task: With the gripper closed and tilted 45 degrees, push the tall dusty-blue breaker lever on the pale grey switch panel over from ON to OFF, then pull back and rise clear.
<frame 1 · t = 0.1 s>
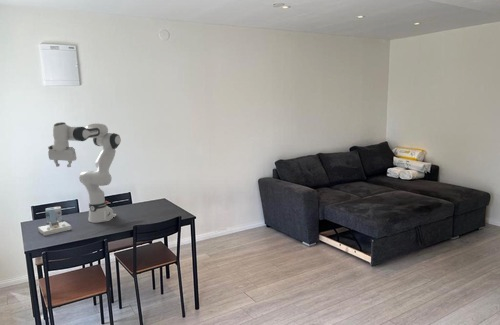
hand: (63, 166, 247), 48 cm above the table, tool pointing down, fingers open, 8 cm apart
switch panel: (55, 230, 261), on the table
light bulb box: (54, 221, 281), on the table
breaker lever: (53, 218, 262), point 8 cm above the table, hinge at -20.0°
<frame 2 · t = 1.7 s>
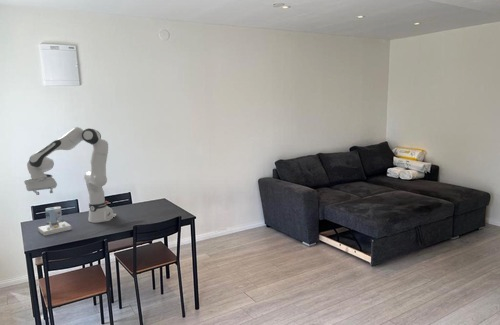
hand: (45, 193, 265), 25 cm above the table, tool tilted 45°, fingers open, 8 cm apart
nothing on the table moved.
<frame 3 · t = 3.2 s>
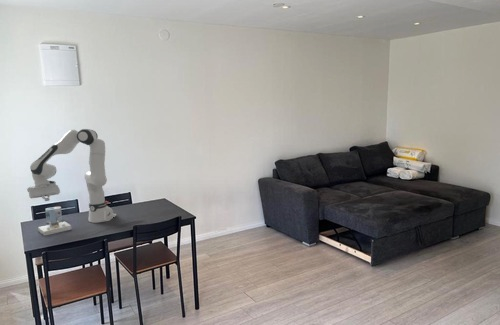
hand: (47, 200, 267), 20 cm above the table, tool tilted 45°, fingers closed
nothing on the table moved.
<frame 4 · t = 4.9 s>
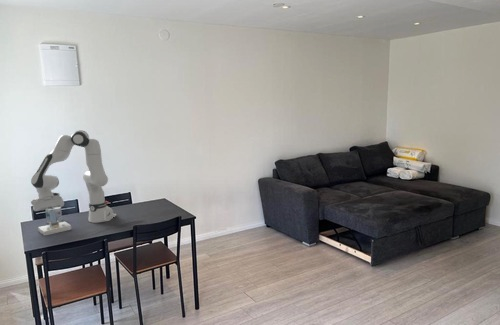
hand: (51, 213, 263), 12 cm above the table, tool tilted 45°, fingers closed, pressing on breaker lever
breaker lever: (53, 218, 262), point 8 cm above the table, hinge at -19.0°, touching gripper
everything else where it was.
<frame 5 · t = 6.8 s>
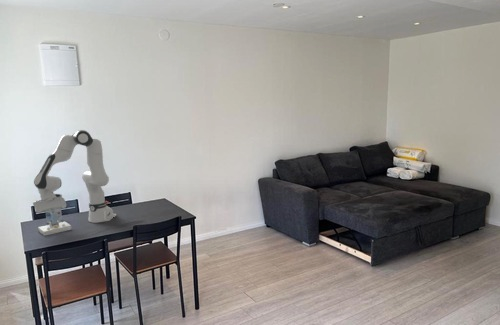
hand: (53, 214, 259), 12 cm above the table, tool tilted 45°, fingers closed, pressing on breaker lever
breaker lever: (54, 219, 260), point 8 cm above the table, hinge at 21.9°, touching gripper
everything else where it was.
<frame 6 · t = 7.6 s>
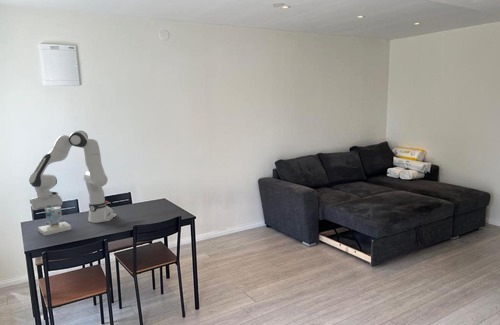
hand: (49, 211, 265), 12 cm above the table, tool tilted 45°, fingers closed
breaker lever: (54, 219, 260), point 8 cm above the table, hinge at 21.9°
everything else where it was.
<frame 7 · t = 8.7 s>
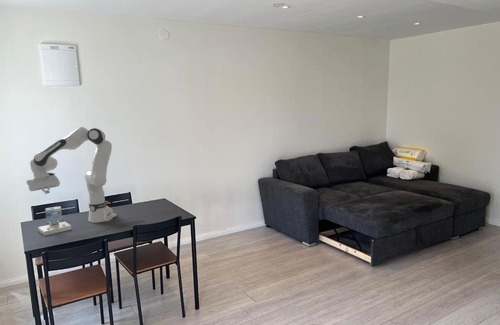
hand: (47, 193, 264), 26 cm above the table, tool tilted 40°, fingers closed
nothing on the table moved.
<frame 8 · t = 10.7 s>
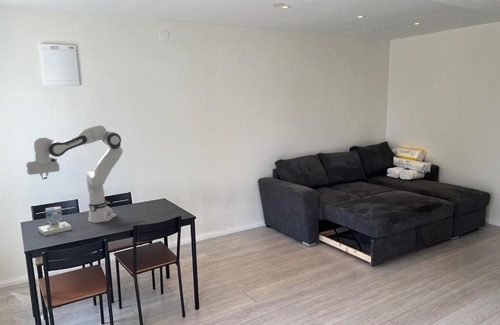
hand: (44, 179, 259), 37 cm above the table, tool pointing down, fingers closed
nothing on the table moved.
at the end: breaker lever at +22° (first picture: -20°) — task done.
